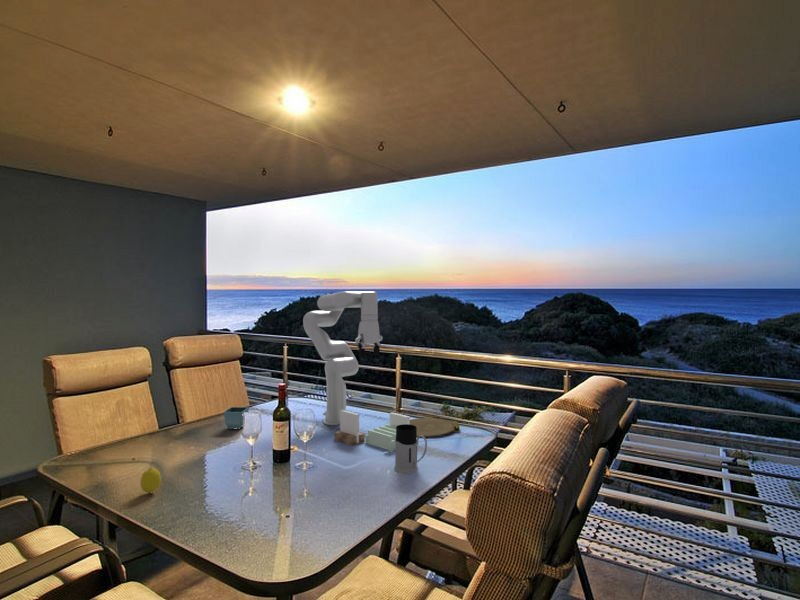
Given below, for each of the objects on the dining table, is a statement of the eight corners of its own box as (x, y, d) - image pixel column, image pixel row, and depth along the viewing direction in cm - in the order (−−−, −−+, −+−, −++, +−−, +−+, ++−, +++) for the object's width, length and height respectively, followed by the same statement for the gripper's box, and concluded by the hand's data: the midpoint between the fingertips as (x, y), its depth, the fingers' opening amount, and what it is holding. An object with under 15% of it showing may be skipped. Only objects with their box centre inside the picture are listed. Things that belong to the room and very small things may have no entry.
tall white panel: (340, 438, 187) (340, 410, 187) (343, 437, 188) (343, 409, 188) (356, 443, 180) (356, 414, 180) (359, 442, 182) (359, 414, 182)
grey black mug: (406, 462, 163) (406, 422, 162) (434, 473, 152) (434, 430, 152) (389, 468, 156) (389, 427, 156) (417, 480, 146) (417, 436, 146)
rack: (365, 444, 182) (365, 418, 182) (392, 434, 195) (392, 410, 194) (389, 452, 173) (390, 424, 173) (416, 441, 186) (416, 416, 185)
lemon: (146, 499, 132) (146, 472, 132) (136, 494, 135) (137, 469, 134) (164, 492, 136) (164, 467, 136) (154, 488, 139) (154, 463, 139)
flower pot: (242, 431, 198) (242, 411, 198) (223, 431, 199) (223, 411, 198) (249, 425, 207) (249, 407, 207) (230, 425, 207) (230, 406, 207)
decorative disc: (396, 416, 219) (455, 414, 219) (397, 422, 219) (456, 420, 219) (394, 434, 191) (462, 431, 190) (395, 441, 191) (463, 439, 190)
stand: (333, 441, 185) (333, 432, 185) (346, 437, 191) (346, 428, 191) (352, 447, 178) (352, 438, 178) (365, 443, 183) (365, 433, 183)
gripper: (375, 317, 206) (376, 353, 205) (349, 319, 192) (349, 357, 192) (387, 318, 201) (388, 355, 201) (361, 319, 187) (362, 358, 187)
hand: (369, 356), depth 196 cm, fingers open, 9 cm apart
